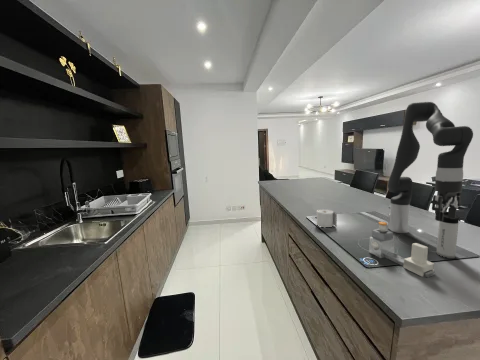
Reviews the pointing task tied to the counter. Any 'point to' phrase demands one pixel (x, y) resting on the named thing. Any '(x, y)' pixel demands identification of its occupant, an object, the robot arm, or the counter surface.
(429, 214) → the counter surface
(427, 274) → the rail
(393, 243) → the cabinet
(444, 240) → the travel mug
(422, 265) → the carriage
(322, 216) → the toilet tissue
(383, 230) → the plunger
